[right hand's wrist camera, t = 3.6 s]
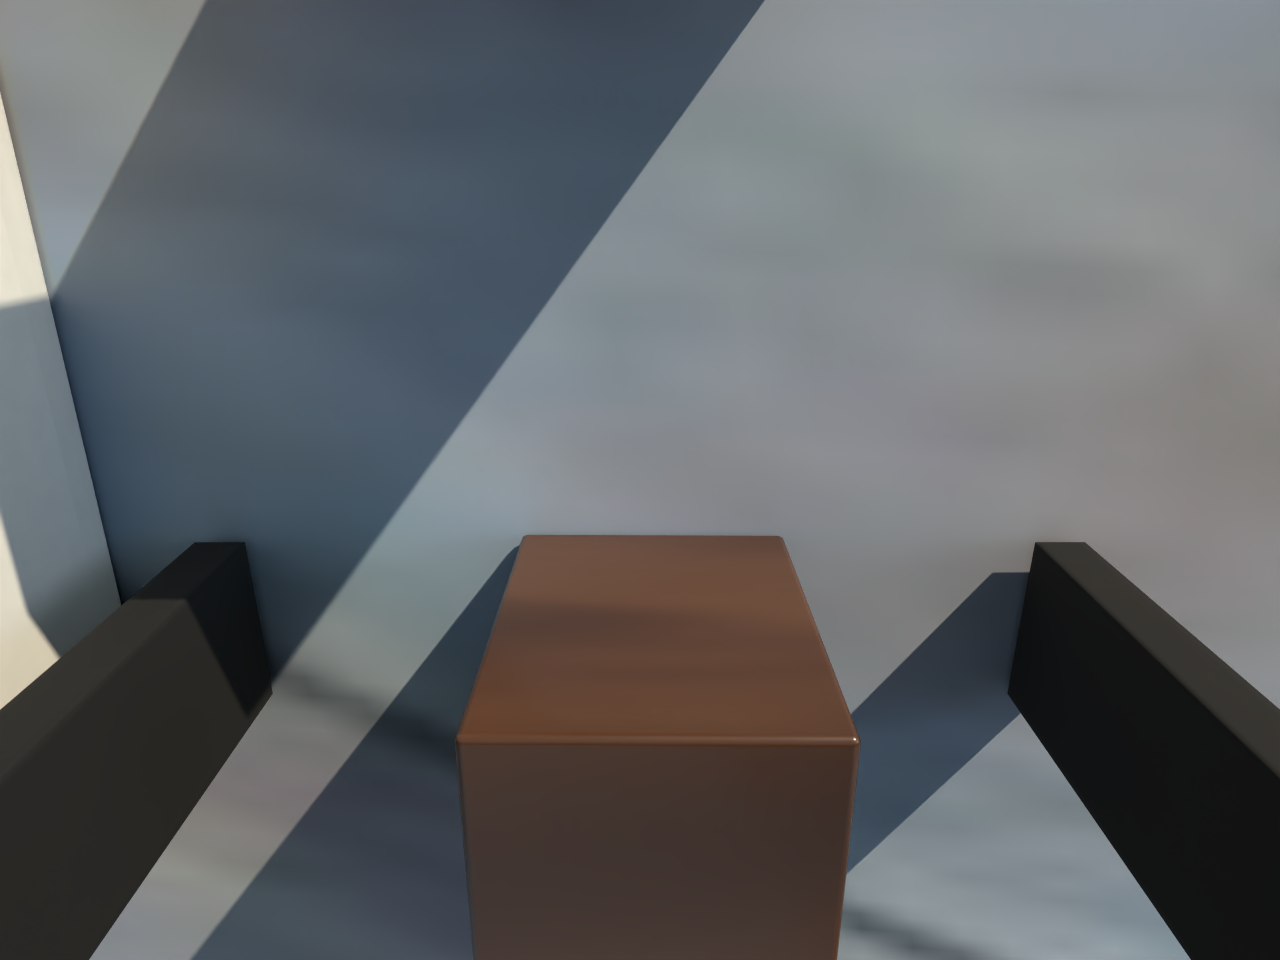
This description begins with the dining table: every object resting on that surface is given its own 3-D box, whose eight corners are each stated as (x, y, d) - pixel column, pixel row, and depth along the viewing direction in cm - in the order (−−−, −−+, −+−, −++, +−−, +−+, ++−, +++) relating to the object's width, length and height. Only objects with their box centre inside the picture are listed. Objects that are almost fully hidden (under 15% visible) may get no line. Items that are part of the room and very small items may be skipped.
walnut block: (769, 751, 14) (832, 1035, 10) (532, 750, 14) (477, 1033, 10) (783, 532, 13) (863, 738, 8) (521, 532, 13) (451, 736, 8)
